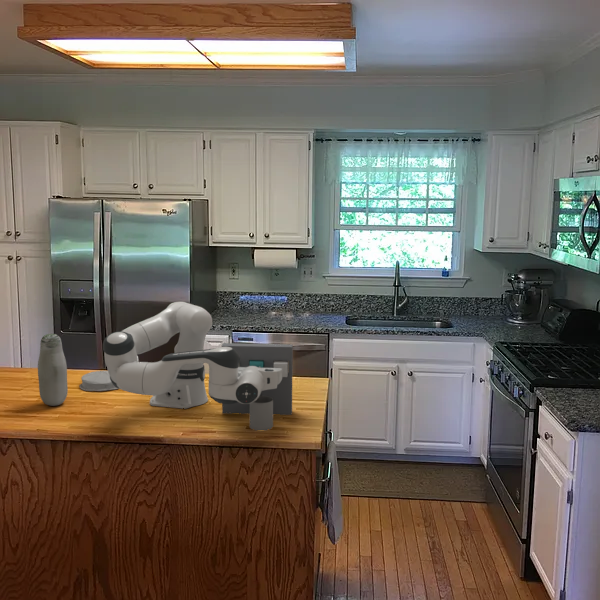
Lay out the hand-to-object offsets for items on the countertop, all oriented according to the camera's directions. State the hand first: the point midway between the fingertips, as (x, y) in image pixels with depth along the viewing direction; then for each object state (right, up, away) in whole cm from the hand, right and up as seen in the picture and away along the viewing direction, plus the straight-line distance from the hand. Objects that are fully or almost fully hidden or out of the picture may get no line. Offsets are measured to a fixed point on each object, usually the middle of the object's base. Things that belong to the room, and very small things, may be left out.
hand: (256, 368), depth 235 cm
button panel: (0, -17, +6) cm, 18 cm away
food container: (-68, -12, +38) cm, 78 cm away
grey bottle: (-79, -16, +12) cm, 81 cm away
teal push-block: (0, -2, +3) cm, 4 cm away
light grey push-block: (+9, -2, +1) cm, 9 cm away
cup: (+2, -20, -8) cm, 22 cm away
